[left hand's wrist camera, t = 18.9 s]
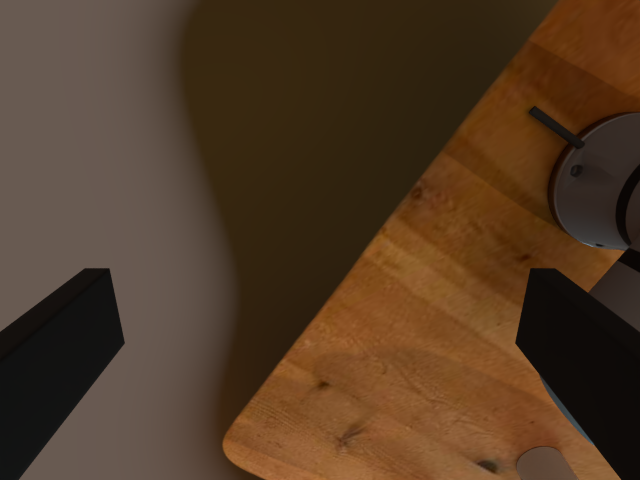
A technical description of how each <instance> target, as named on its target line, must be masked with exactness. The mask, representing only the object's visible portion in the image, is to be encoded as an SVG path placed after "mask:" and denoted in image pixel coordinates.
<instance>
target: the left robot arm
mask: <svg viewBox="0 0 640 480" xmlns="http://www.w3.org/2000/svg"><path fill="white" fill-rule="evenodd" d="M529 113H530V114H531V115H532V116H534V117H535V118H536V119H538V120H539V121H540V122H542V123H543V124H545V125H546V126H547V127H549V128H550V129H551V130H553V131H554V132H555V133H557V134H558V135H559V136H561V137H562V138H563V139H565V140H566V141H568V142H569V145H568V146H567V147H566V148H565V150H564V151H563V152H562V154H561V155H560V157H559V159H558V160H557V162H556V164H555V167H554V169H553V171H552V175H551V178H550V182H549V189H548V199H549V206H550V210H551V213H552V215H553V218H554V220H555V221H556V223H557V224H558V225H559V227H560V228H561V229H562V230H563V231H564V232H566V233H567V234H568V235H570V236H571V237H573V238H575V239H577V240H578V241H580V242H582V243H584V244H586V245H589V246H593V247H597V248H603V249H619V250H623V251H625V252H624V253H623V254H622V256H621V257H620V258H619V259H618V260H617V261H616V262H615V263H614V264H613V265H612V267H611V268H610V269H609V270H608V271H607V272H606V273H605V275H604V276H603V277H602V278H601V279H600V280H599V281H598V282H597V283H596V285H595V286H594V287H593V288H592V289H591V290H590V291H589V292H588V293H587V292H586V291H585V290H583V289H582V288H581V287H579V286H578V285H577V284H575V283H574V282H573V281H571V280H570V279H569V278H567V277H566V276H565V275H563V274H562V273H561V272H559V271H558V270H557V269H555V268H531V269H530V274H529V279H528V283H527V288H526V293H525V298H524V303H523V308H522V313H521V318H520V322H519V327H518V332H517V337H516V342H515V344H516V345H517V346H518V347H519V349H520V350H521V351H522V353H523V354H524V355H525V356H526V358H527V359H528V360H529V362H530V363H531V364H532V365H533V367H534V368H535V369H536V371H537V372H538V373H539V375H540V378H541V380H542V382H543V385H544V387H545V388H546V390H547V392H548V393H549V395H550V397H551V398H552V400H553V401H554V402H555V404H556V405H557V407H558V408H559V409H560V410H561V412H562V413H563V414H564V415H565V417H566V418H567V419H568V420H569V421H570V422H571V424H572V425H573V426H574V427H575V428H576V429H577V430H578V431H579V432H580V433H581V434H582V435H583V436H584V437H585V438H586V439H587V440H588V441H589V442H590V443H591V444H593V445H595V446H596V448H597V449H598V450H599V452H600V453H601V454H602V455H603V457H604V458H605V459H606V461H607V462H608V463H609V464H610V466H611V467H612V468H613V470H614V471H615V472H616V473H617V475H618V476H619V477H620V479H621V480H640V112H626V113H620V114H616V115H612V116H609V117H606V118H604V119H602V120H600V121H597V122H596V123H594V124H592V125H590V126H589V127H588V128H586V129H585V130H583V131H582V132H581V133H580V134H578V135H577V136H575V135H574V134H572V133H571V132H570V131H568V130H567V129H566V128H564V127H563V126H562V125H560V124H559V123H557V122H556V121H555V120H553V119H552V118H551V117H549V116H548V115H547V114H545V113H544V112H543V111H541V110H540V109H538V108H537V107H536V106H534V107H533V108H532V109H531V110H530V112H529ZM628 266H629V267H628ZM124 343H125V342H124V337H123V332H122V327H121V323H120V318H119V313H118V308H117V303H116V298H115V293H114V288H113V283H112V279H111V274H110V269H109V268H85V269H83V270H82V271H81V272H79V273H78V274H77V275H75V276H74V277H73V278H71V279H70V280H69V281H67V282H66V283H65V284H63V285H62V286H61V287H59V288H58V289H57V290H55V291H54V292H53V293H51V294H50V295H49V296H47V297H46V298H45V299H43V300H42V301H41V302H39V303H38V304H37V305H35V306H34V307H33V308H31V309H30V310H29V311H27V312H26V313H25V314H23V315H22V316H21V317H19V318H18V319H17V320H15V321H14V322H13V323H11V324H10V325H9V326H7V327H6V328H5V329H3V330H2V331H1V332H0V480H19V479H20V477H21V476H22V475H23V473H24V472H25V471H26V469H27V468H28V467H29V466H30V464H31V463H32V462H33V461H34V459H35V458H36V457H37V455H38V454H39V453H40V452H41V450H42V449H43V448H44V446H45V445H46V444H47V442H48V441H49V440H50V439H51V437H52V436H53V435H54V433H55V432H56V431H57V430H58V428H59V427H60V426H61V425H62V423H63V422H64V421H65V419H66V418H67V417H68V416H69V414H70V413H71V412H72V410H73V409H74V408H75V406H76V405H77V404H78V403H79V401H80V400H81V399H82V398H83V396H84V395H85V394H86V392H87V391H88V390H89V388H90V387H91V386H92V385H93V383H94V382H95V381H96V380H97V378H98V377H99V376H100V374H101V373H102V372H103V371H104V369H105V368H106V367H107V365H108V364H109V363H110V362H111V360H112V359H113V358H114V356H115V355H116V354H117V353H118V351H119V350H120V349H121V347H122V346H123V345H124Z"/></svg>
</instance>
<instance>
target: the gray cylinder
mask: <svg viewBox="0 0 640 480" xmlns="http://www.w3.org/2000/svg"><path fill="white" fill-rule="evenodd" d="M517 472H518V474H519V476H520V478H521V479H522V480H579V479H578V478H577V476H576V475H575V473H574V472H573V470H572V469H571V467H570V466H569V464H568V463H567V461H566V460H565V458H564V457H563V455H562V454H561V453H560V452H559V451H558V450H557V449H554V448H552V447H537V448H533V449H531V450H529V451H527V452H526V453H524V454H523V455H522V456H521V457H520V458H519V460H518V462H517Z"/></svg>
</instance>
